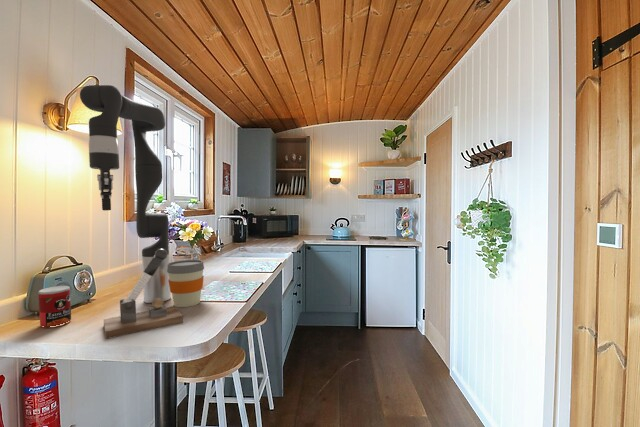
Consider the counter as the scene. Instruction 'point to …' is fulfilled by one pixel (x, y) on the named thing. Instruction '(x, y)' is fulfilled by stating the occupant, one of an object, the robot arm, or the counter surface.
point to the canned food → (54, 306)
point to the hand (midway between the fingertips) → (106, 210)
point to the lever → (147, 274)
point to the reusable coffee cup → (186, 282)
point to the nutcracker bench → (141, 318)
